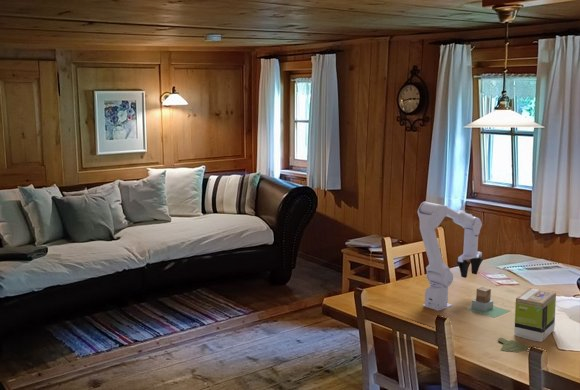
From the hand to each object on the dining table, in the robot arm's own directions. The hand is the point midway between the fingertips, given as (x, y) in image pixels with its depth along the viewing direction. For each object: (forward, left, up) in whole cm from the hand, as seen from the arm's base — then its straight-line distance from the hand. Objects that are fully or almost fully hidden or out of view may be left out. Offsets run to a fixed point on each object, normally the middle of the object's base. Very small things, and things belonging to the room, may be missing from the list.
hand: (469, 275), depth 271 cm
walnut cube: (-7, -12, -7) cm, 15 cm away
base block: (-7, -12, -10) cm, 17 cm away
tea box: (-16, -39, -10) cm, 43 cm away
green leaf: (-34, -43, -10) cm, 56 cm away
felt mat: (-8, -15, -10) cm, 19 cm away
